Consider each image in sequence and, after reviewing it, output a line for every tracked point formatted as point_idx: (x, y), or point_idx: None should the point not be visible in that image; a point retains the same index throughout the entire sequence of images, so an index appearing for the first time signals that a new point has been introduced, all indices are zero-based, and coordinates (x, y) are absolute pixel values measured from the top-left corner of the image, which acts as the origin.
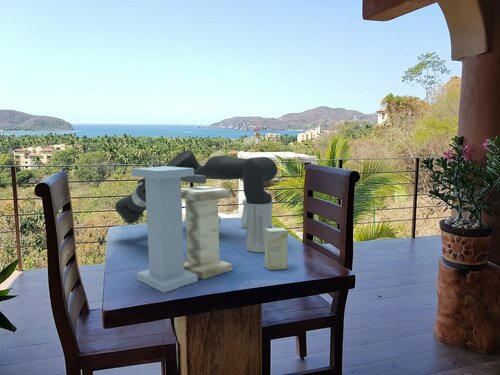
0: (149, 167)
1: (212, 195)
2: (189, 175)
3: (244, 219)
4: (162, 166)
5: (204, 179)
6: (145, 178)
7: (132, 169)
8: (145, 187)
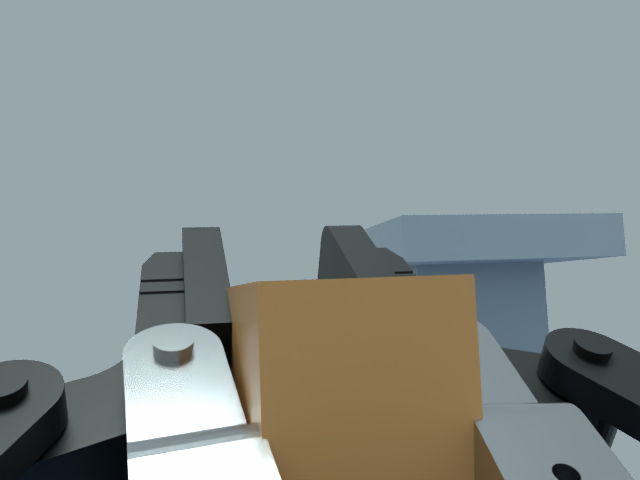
0: (516, 215)
1: None
2: None
3: None
4: (428, 215)
5: None
6: (541, 274)
7: (616, 219)
8: (547, 323)
